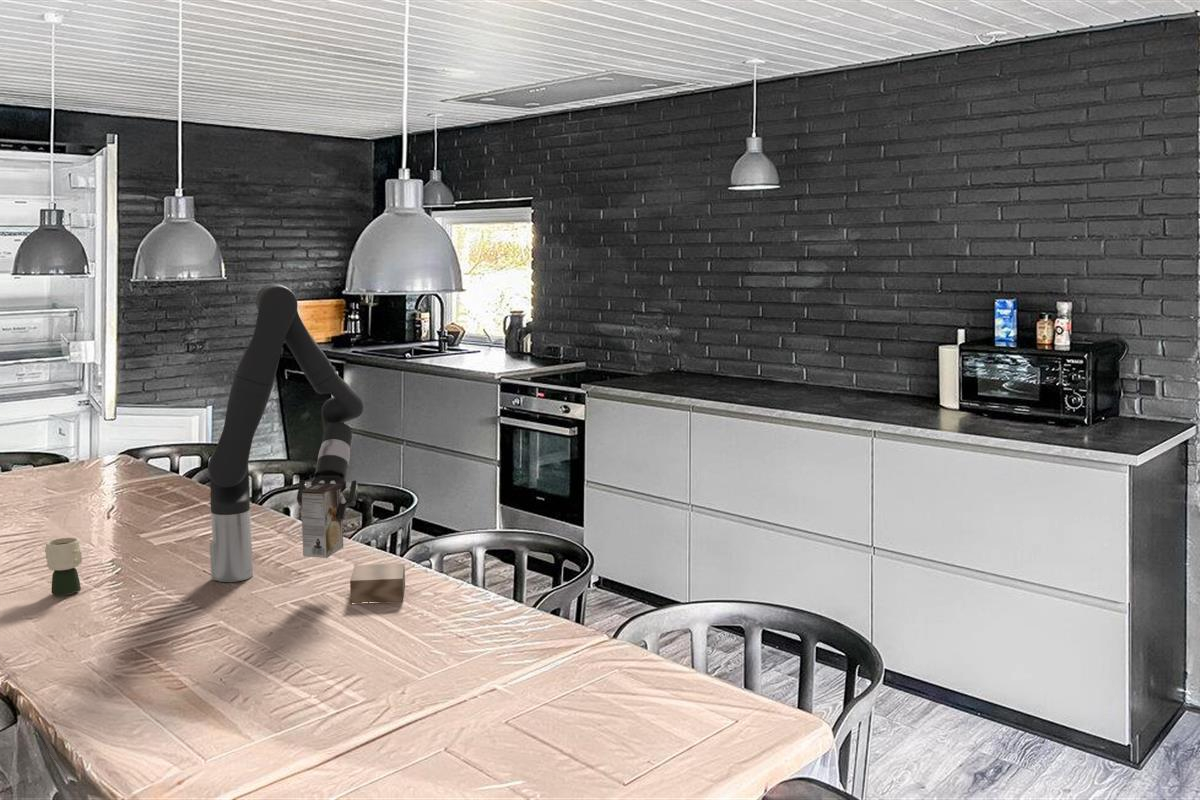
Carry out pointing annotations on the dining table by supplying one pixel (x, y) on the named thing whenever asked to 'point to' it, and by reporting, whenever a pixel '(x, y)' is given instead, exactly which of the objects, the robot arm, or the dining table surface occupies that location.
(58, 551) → the character mug
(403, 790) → the dining table surface
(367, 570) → the walnut block
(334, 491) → the coffee box
